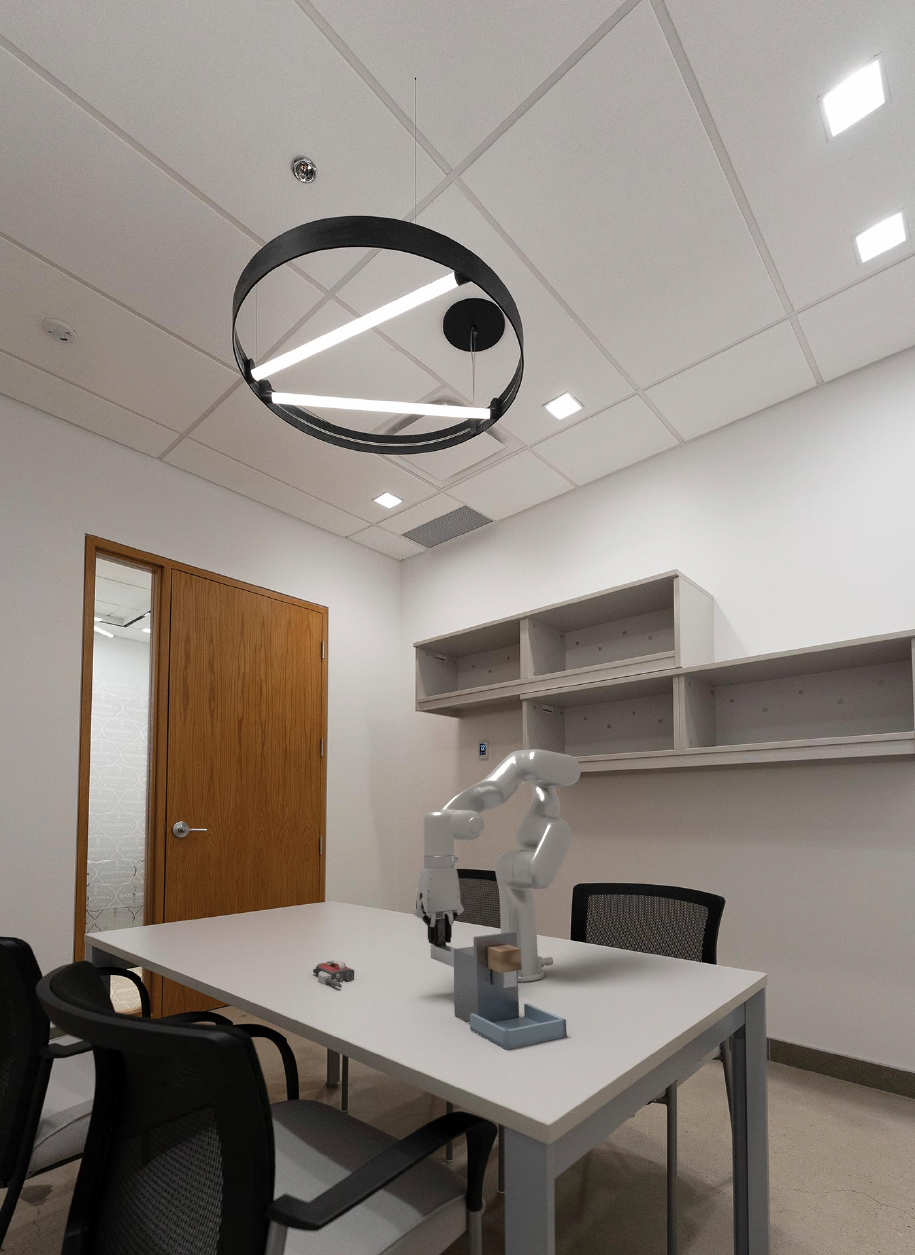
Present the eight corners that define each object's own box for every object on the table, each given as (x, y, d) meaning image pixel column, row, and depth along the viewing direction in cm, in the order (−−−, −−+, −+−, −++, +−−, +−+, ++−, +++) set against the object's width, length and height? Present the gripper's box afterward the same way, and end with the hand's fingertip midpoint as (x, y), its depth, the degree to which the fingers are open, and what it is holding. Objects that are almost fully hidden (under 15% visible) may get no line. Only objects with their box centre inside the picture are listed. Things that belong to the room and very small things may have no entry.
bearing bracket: (494, 1008, 157) (492, 926, 161) (519, 1020, 149) (516, 932, 153) (454, 1015, 152) (453, 930, 156) (478, 1028, 144) (476, 937, 148)
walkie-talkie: (305, 977, 190) (336, 993, 173) (305, 959, 191) (336, 973, 174) (335, 972, 194) (368, 987, 178) (336, 954, 195) (368, 968, 179)
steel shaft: (441, 956, 173) (441, 917, 175) (516, 986, 145) (515, 938, 147) (430, 958, 171) (430, 918, 173) (504, 988, 143) (502, 940, 145)
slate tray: (527, 1019, 149) (527, 1003, 150) (566, 1036, 138) (566, 1019, 139) (470, 1030, 143) (469, 1013, 143) (506, 1049, 131) (505, 1031, 132)
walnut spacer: (508, 965, 150) (507, 944, 151) (521, 970, 146) (520, 949, 146) (487, 968, 147) (487, 947, 148) (500, 973, 143) (500, 951, 144)
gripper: (460, 860, 183) (461, 936, 178) (402, 863, 175) (402, 944, 170) (475, 862, 176) (476, 941, 172) (416, 866, 168) (416, 949, 164)
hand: (439, 942), depth 171 cm, fingers closed on steel shaft, 3 cm apart
